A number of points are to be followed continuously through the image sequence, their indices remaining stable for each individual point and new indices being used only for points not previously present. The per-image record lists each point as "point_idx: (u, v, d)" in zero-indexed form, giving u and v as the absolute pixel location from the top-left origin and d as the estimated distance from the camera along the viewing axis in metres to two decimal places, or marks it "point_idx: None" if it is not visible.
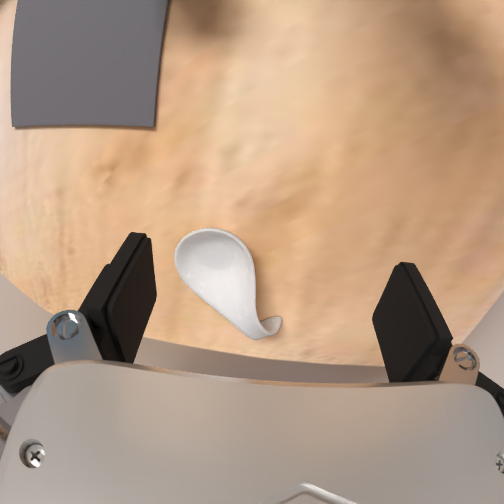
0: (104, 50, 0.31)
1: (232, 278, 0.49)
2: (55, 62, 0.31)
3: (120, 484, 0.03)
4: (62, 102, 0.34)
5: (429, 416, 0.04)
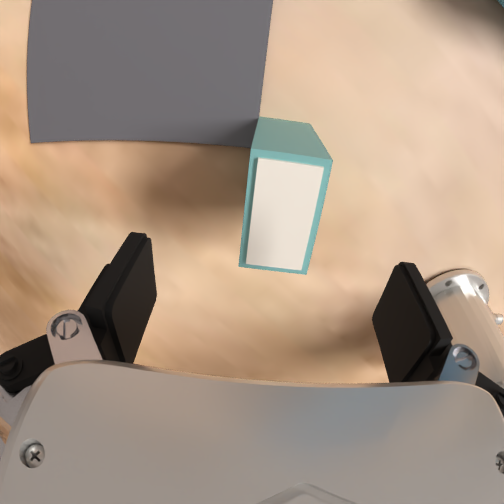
0: (121, 49, 0.19)
1: None
2: None
3: (120, 484, 0.03)
4: None
5: (429, 416, 0.04)
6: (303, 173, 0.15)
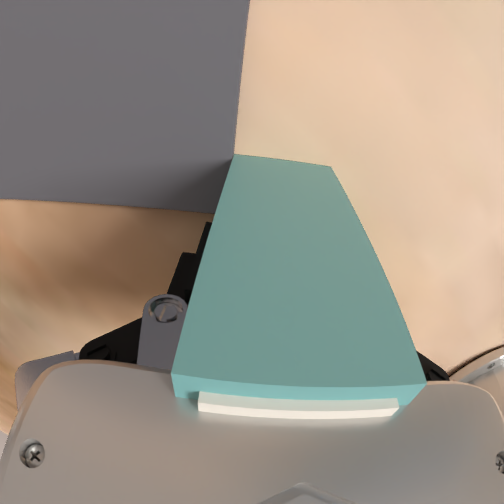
0: (3, 52, 0.08)
1: None
2: None
3: (120, 484, 0.03)
4: None
5: (429, 416, 0.04)
6: None
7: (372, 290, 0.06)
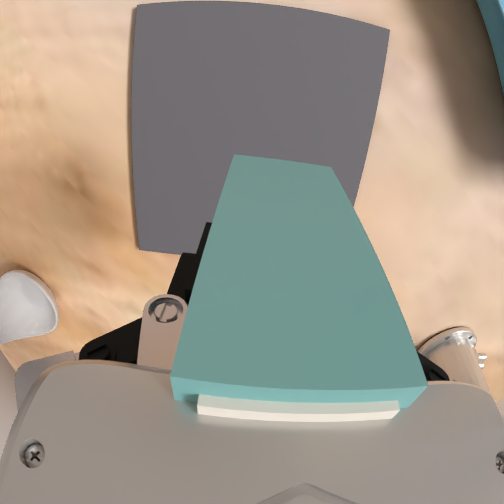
0: None
1: (23, 308, 0.40)
2: (236, 106, 0.25)
3: (120, 484, 0.03)
4: (165, 119, 0.26)
5: (429, 416, 0.04)
6: None
7: (373, 291, 0.06)
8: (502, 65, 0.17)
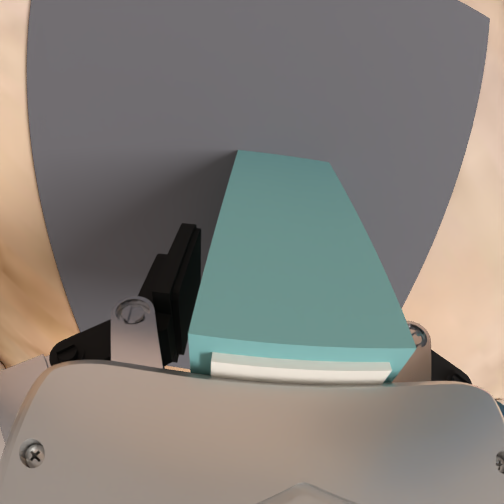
0: None
1: None
2: (205, 150, 0.13)
3: (120, 484, 0.03)
4: (84, 177, 0.14)
5: (429, 416, 0.04)
6: (336, 384, 0.05)
7: (366, 268, 0.07)
8: None
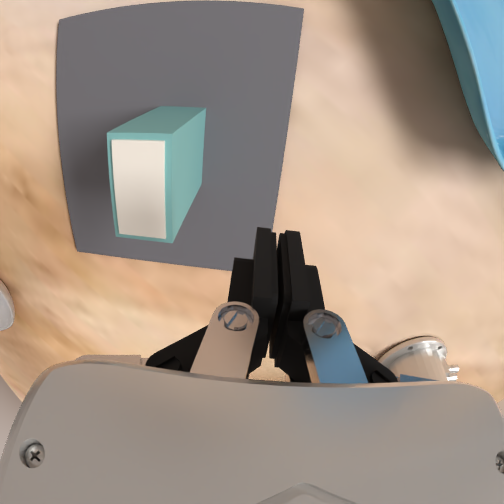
0: None
1: None
2: (145, 107, 0.24)
3: (120, 484, 0.03)
4: (85, 126, 0.25)
5: (429, 416, 0.04)
6: (147, 148, 0.16)
7: (174, 125, 0.17)
8: (447, 31, 0.16)
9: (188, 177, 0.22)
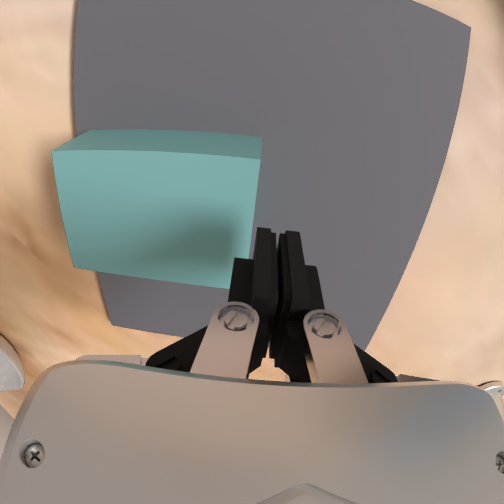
0: None
1: None
2: None
3: (120, 484, 0.03)
4: None
5: (429, 416, 0.04)
6: None
7: (94, 147, 0.13)
8: None
9: (137, 234, 0.15)
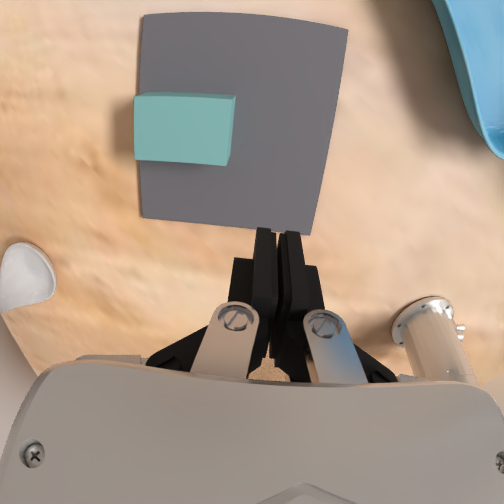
0: (225, 166, 0.36)
1: (25, 279, 0.46)
2: None
3: (120, 484, 0.03)
4: None
5: (429, 416, 0.04)
6: None
7: (156, 95, 0.28)
8: (450, 47, 0.23)
9: (174, 137, 0.30)
